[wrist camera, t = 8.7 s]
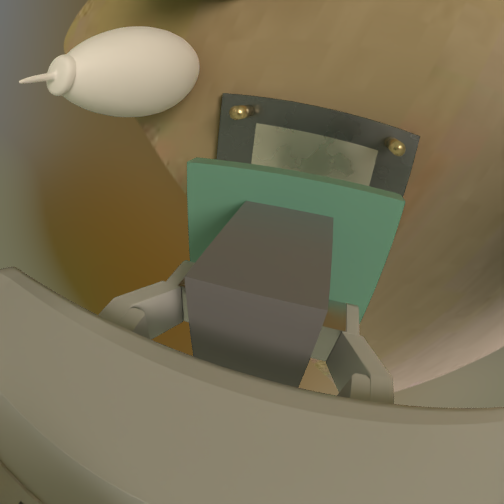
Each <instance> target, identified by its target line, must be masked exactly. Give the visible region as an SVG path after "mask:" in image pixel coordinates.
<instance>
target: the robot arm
mask: <svg viewBox="0 0 504 504" xmlns="http://www.w3.org/2000/svg"><path fill="white" fill-rule="evenodd" d="M193 265H194V262H190V261H187V260H185V261H183V262H182V264H180V266H179V267H178V268H177V269H176V270H175V271H174V273H173V274H172V275H171V276H170V277H169V278H168V280H167V281H166V282H164V281H161V282H158V283H155V284H152V285H149V286H147V287H144V288H141V289H138V290H135V291H132V292H130V293H127V294H124V295H121V296H118V297H115V298H114V299H113V300H112V301H111V302H110V303H109V304H108V305H107V306H106V307H105V308H104V309H103V310H102V312H101V313H100V314H99V315H96V314H94V313H92V312H91V311H89V310H87V309H85V308H83V307H81V306H79V305H77V304H75V303H74V302H72V301H70V300H68V299H66V298H65V297H63V296H61V295H60V294H57V293H56V292H54V291H52V290H51V289H49V288H48V287H46V286H44V285H43V284H41V283H39V282H38V281H36V280H35V279H33V278H31V277H30V276H28V275H27V274H25V273H24V272H22V271H21V270H19V269H18V268H16V267H8V268H3V269H0V504H504V407H490V408H438V407H421V406H408V405H397V404H394V393H393V378H392V377H391V375H390V374H389V372H388V371H387V369H386V368H385V367H384V365H383V364H382V362H381V361H380V359H379V358H378V357H377V355H376V354H375V352H374V351H373V350H372V348H371V347H370V345H369V344H368V343H367V341H366V340H365V338H364V337H363V336H361V335H359V307H358V305H353V304H349V303H343V302H339V301H334V300H330V299H329V303H328V312H327V314H326V317H325V320H324V323H323V326H322V328H321V331H320V334H319V337H318V339H317V342H316V345H315V347H314V350H313V352H312V355H311V358H315V359H318V360H322V361H326V364H327V366H328V369H329V371H330V373H331V375H332V378H333V380H334V382H335V384H336V387H337V389H338V391H339V394H338V395H337V396H335V395H330V394H325V393H320V392H315V391H310V390H306V389H301V388H297V387H293V386H289V385H285V384H281V383H277V382H273V381H269V380H266V379H262V378H259V377H255V376H252V375H248V374H245V373H241V372H238V371H235V370H232V369H229V368H225V367H222V366H219V365H216V364H213V363H210V362H207V361H205V360H202V359H199V358H196V357H193V356H190V355H188V354H185V353H183V352H180V351H177V350H174V349H172V348H170V347H167V346H165V345H162V344H160V343H157V342H154V341H153V340H151V339H153V338H155V337H157V336H158V335H160V334H162V333H164V332H166V331H167V330H169V329H171V328H173V327H174V326H176V325H178V324H179V323H181V322H183V321H186V322H189V318H188V309H187V299H186V289H185V278H184V276H185V275H186V274H187V272H188V271H189V270H190V268H191V267H192V266H193Z"/></svg>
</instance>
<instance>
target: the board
mask: <svg viewBox="0 0 504 504" xmlns="http://www.w3.org/2000/svg"><path fill="white" fill-rule="evenodd" d="M187 200H188V228H189V229H188V230H189V251H190V262H194V265H193V266H192V267H191V268H190V270H189V271H188V272H187V274H186V275H185V276H184V278H185V289H186V299H187V309H188V318H189V326H190V334H191V342H192V349H193V357H196V358H199V359H202V360H205V361H207V362H210V363H213V364H216V365H219V366H222V367H225V368H229V369H232V370H235V371H238V372H241V373H245V374H248V375H252V376H255V377H259V378H262V379H266V380H269V381H273V382H277V383H281V384H285V385H289V386H293V387H297V388H298V387H299V384H300V382H301V379H302V377H303V375H304V372H305V370H306V367H307V365H308V363H309V360H310V357H311V355H312V352H313V350H314V347H315V345H316V342H317V339H318V337H319V334H320V331H321V328H322V326H323V323H324V320H325V317H326V314H327V312H328V303H329V299H330V300H334V301H339V302H343V303H349V304H353V305H358V307H359V324H360V322H361V320H362V318H363V315H364V313H365V311H366V309H367V306H368V304H369V302H370V300H371V297H372V295H373V292H374V290H375V288H376V285H377V283H378V280H379V278H380V275H381V273H382V270H383V267H384V265H385V262H386V259H387V257H388V254H389V251H390V248H391V246H392V243H393V240H394V237H395V234H396V231H397V228H398V225H399V221H400V218H401V215H402V212H403V208H404V205H405V200H404V199H403V197H402V196H401V194H397V193H394V192H390V191H386V190H382V189H378V188H374V187H370V186H366V185H362V184H358V183H353V182H349V181H345V180H340V179H335V178H330V177H326V176H321V175H316V174H310V173H305V172H299V171H294V170H288V169H282V168H276V167H270V166H263V165H256V164H249V163H241V162H234V161H225V160H217V159H207V158H197V157H196V158H194V159H192V160H190V161H188V162H187Z"/></svg>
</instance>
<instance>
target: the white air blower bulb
mask: <svg viewBox="0 0 504 504" xmlns="http://www.w3.org/2000/svg"><path fill="white" fill-rule="evenodd" d="M199 68H200V65H199V59H198V56H197V54H196V52H195V51H194V49H193V48H192V46H191V45H190V44H189V43H187V42H186V41H185V40H184V39H183V38H181V37H179V36H177V35H176V34H174V33H171V32H169V31H166V30H162V29H158V28H154V27H145V26H135V27H123V28H118V29H114V30H110V31H107V32H103V33H100V34H98V35H95V36H93V37H91V38H89V39H87V40H85V41H83V42H82V43H80V44H79V45H77V46H76V47H74V48H73V49H72V50H70V51H69V52H68V53H67V54H66V55H60V56H58V57H57V58H55V59H54V60H53V62H52V63H51V65H50V67H49V69H48V72H47V73H46V74H41V75H36V76H32V77H28V78H25V79H23V80H20V81H19V83H23V84H24V83H34V82H42V81H46V84H47V88H48V90H49V92H50V93H52V94H53V95H56V96H61V95H63V96H64V97H65V98H66V99H67V100H69V101H70V102H72V103H73V104H75V105H78V106H79V107H82V108H84V109H86V110H89V111H92V112H95V113H100V114H104V115H109V116H115V117H142V116H148V115H152V114H156V113H160V112H163V111H165V110H167V109H169V108H171V107H173V106H175V105H176V104H178V103H179V102H180V101H181V100H183V99H184V98H185V97H186V96H187V95H188V93H189V92H190V91H191V90H192V88H193V87H194V85H195V83H196V81H197V78H198V75H199Z"/></svg>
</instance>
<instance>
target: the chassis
mask: <svg viewBox="0 0 504 504" xmlns="http://www.w3.org/2000/svg"><path fill="white" fill-rule="evenodd" d="M419 138H420V136H418V135H415V134H413V133H410V132H407V131H404V130H402V129H399V128H396V127H393V126H390V125H387V124H383V123H380V122H377V121H374V120H370V119H367V118H363V117H360V116H356V115H352V114H348V113H344V112H340V111H336V110H332V109H328V108H323V107H318V106H313V105H308V104H303V103H298V102H292V101H286V100H280V99H273V98H266V97H258V96H249V95H239V94H228V93H223V97H222V107H221V116H220V127H219V138H218V150H217V160H225V161H234V162H241V163H249V164H256V165H263V166H270V167H276V168H282V169H288V170H294V171H299V172H305V173H310V174H316V175H321V176H326V177H330V178H335V179H340V180H345V181H349V182H353V183H358V184H362V185H366V186H370V187H374V188H378V189H382V190H386V191H390V192H394V193H397V194H401V196H402V197H403V195H404V192H405V189H406V186H407V182H408V179H409V176H410V172H411V169H412V165H413V162H414V158H415V154H416V150H417V146H418V142H419Z"/></svg>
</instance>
